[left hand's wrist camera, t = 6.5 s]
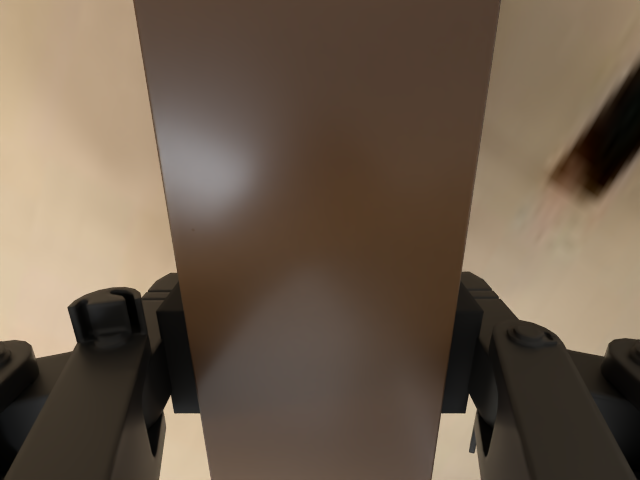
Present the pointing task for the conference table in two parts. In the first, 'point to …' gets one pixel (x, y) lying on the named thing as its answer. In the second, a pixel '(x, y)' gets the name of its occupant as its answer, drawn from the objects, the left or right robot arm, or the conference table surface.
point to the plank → (318, 219)
